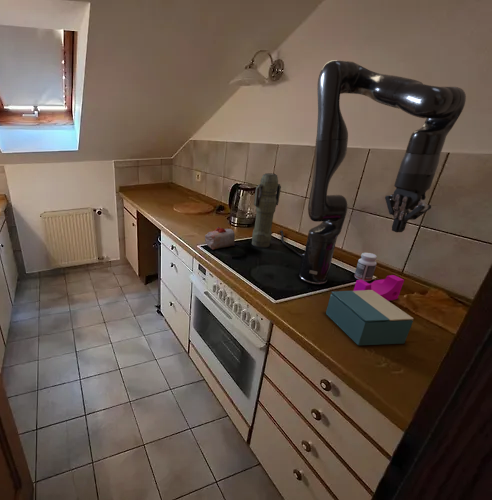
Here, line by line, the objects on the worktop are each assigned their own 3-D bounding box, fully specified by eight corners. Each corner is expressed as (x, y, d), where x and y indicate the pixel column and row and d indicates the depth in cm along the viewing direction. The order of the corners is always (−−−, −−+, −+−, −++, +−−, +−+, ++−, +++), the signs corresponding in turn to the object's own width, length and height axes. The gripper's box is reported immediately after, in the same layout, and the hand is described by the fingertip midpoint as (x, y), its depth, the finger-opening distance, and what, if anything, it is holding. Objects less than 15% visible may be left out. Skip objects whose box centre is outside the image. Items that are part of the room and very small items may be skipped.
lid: (351, 291, 93) (352, 290, 93) (371, 290, 93) (372, 289, 93) (389, 321, 79) (390, 319, 79) (413, 319, 79) (413, 318, 79)
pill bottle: (371, 276, 117) (378, 253, 113) (372, 283, 113) (379, 259, 109) (353, 273, 120) (359, 251, 116) (354, 279, 115) (360, 256, 111)
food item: (211, 251, 145) (213, 232, 141) (203, 245, 151) (204, 227, 148) (235, 247, 149) (237, 228, 145) (226, 241, 155) (227, 223, 152)
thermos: (245, 242, 153) (253, 173, 140) (264, 239, 156) (274, 171, 143) (255, 249, 146) (265, 176, 132) (276, 245, 148) (287, 174, 135)
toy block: (380, 290, 108) (386, 271, 105) (397, 299, 102) (404, 279, 99) (345, 295, 105) (350, 276, 102) (360, 305, 100) (366, 285, 97)
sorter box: (325, 313, 96) (331, 291, 93) (365, 312, 96) (372, 289, 93) (358, 345, 82) (366, 320, 79) (404, 343, 82) (414, 318, 79)
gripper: (383, 167, 86) (367, 224, 93) (425, 175, 74) (403, 240, 81) (409, 167, 86) (391, 224, 93) (454, 174, 74) (430, 239, 81)
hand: (397, 231), depth 87 cm, fingers closed
